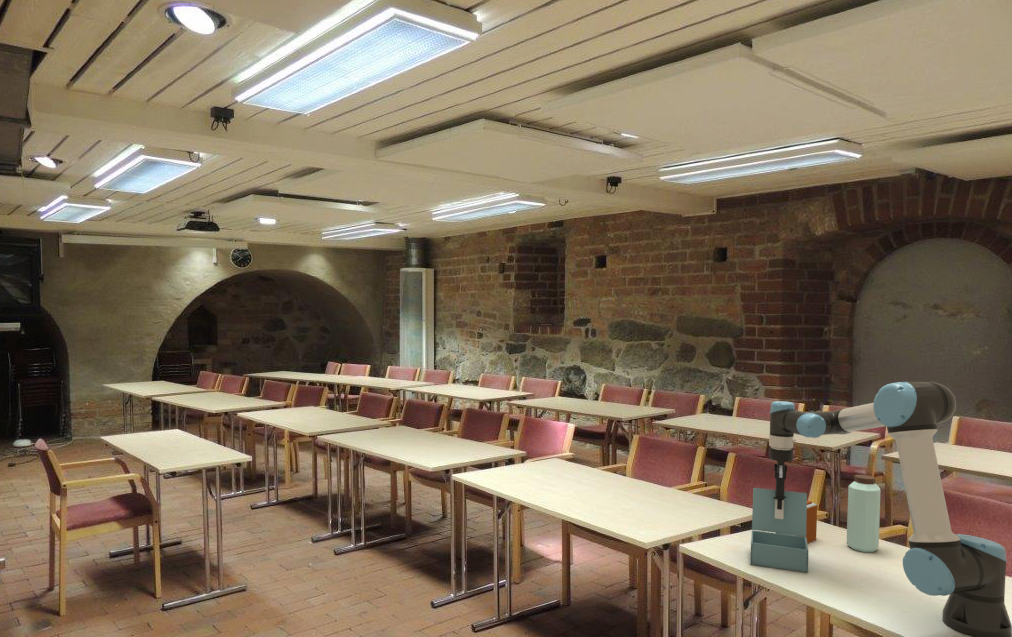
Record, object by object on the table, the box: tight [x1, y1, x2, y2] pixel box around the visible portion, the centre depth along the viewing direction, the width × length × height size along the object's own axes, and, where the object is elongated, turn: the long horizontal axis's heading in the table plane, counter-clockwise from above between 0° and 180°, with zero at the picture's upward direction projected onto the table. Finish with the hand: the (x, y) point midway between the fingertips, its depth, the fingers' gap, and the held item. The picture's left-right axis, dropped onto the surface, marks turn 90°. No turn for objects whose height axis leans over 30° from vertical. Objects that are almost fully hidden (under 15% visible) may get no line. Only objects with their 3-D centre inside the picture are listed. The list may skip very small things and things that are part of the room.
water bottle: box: [846, 474, 881, 553], centre depth 243 cm, size 10×10×25 cm
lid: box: [751, 487, 808, 536], centre depth 237 cm, size 14×17×1 cm
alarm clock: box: [777, 500, 818, 544], centre depth 250 cm, size 15×8×14 cm, turn 130°
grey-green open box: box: [750, 529, 809, 573], centre depth 228 cm, size 14×17×7 cm
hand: (778, 518), depth 234 cm, fingers closed
